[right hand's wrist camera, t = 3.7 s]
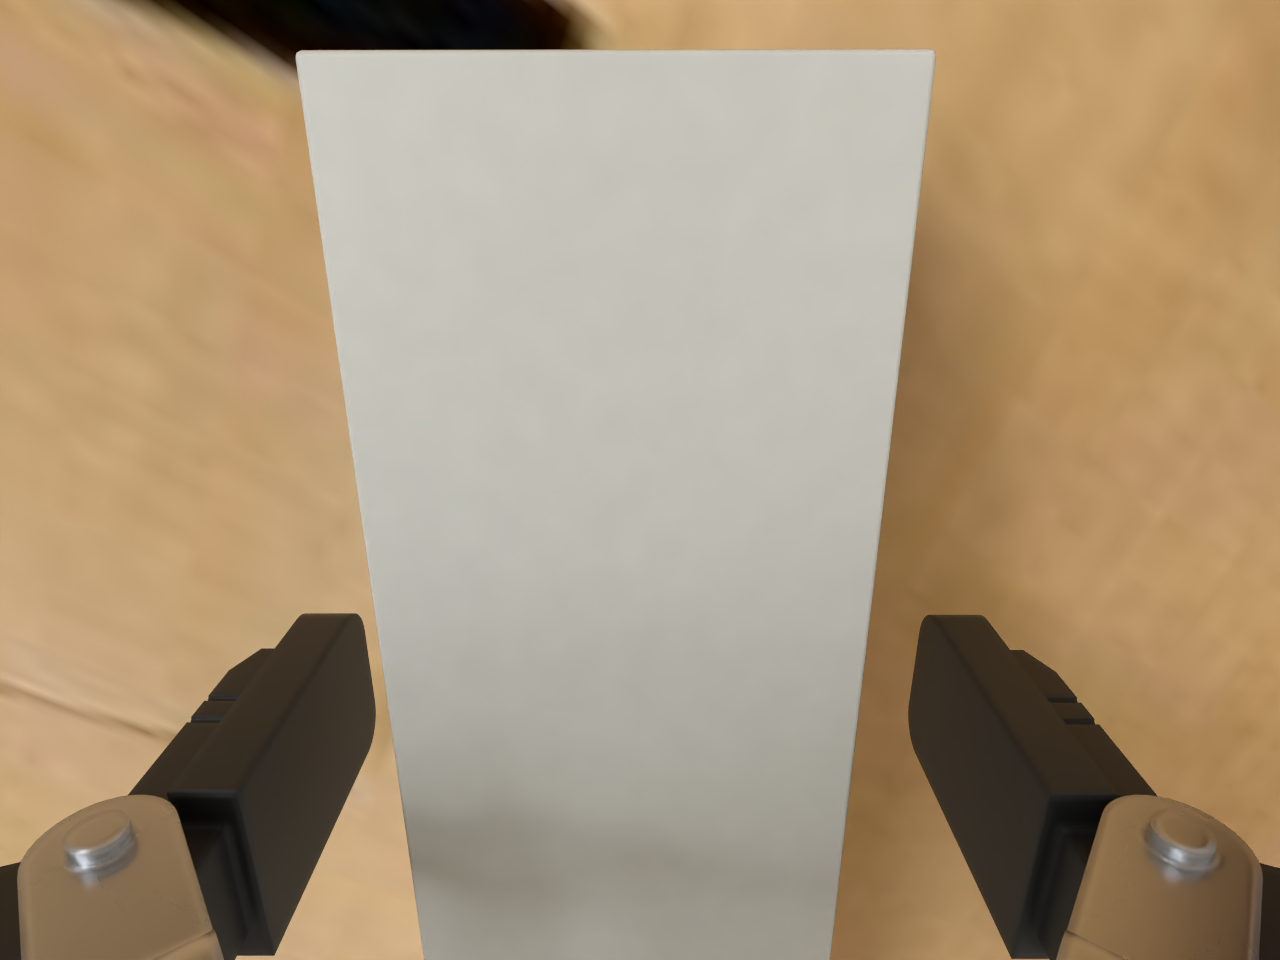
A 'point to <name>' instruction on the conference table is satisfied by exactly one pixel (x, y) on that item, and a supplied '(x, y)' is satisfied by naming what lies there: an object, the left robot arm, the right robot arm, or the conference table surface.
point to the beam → (621, 470)
